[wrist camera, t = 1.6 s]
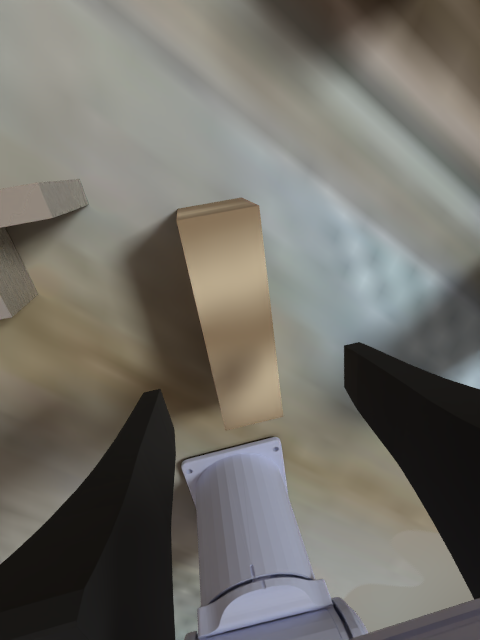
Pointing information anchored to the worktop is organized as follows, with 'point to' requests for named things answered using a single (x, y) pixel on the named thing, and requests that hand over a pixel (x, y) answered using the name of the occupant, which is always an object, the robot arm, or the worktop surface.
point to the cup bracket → (22, 207)
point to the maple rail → (233, 306)
